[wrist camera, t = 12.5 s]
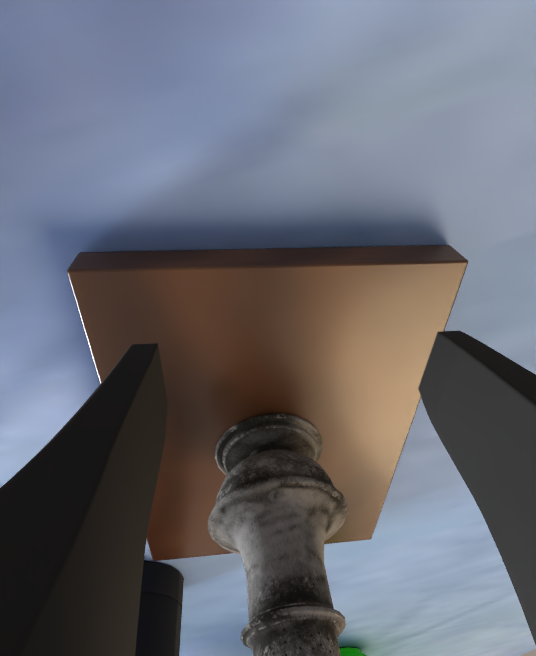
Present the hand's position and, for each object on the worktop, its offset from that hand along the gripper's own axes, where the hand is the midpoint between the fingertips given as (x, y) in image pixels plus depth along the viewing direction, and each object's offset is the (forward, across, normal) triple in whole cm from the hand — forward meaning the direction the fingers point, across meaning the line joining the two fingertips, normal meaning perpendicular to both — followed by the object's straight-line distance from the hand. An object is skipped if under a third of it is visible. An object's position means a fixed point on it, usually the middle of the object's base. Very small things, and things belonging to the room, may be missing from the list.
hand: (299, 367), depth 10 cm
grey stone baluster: (+5, 0, +9) cm, 10 cm away
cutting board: (+6, 0, +9) cm, 11 cm away
